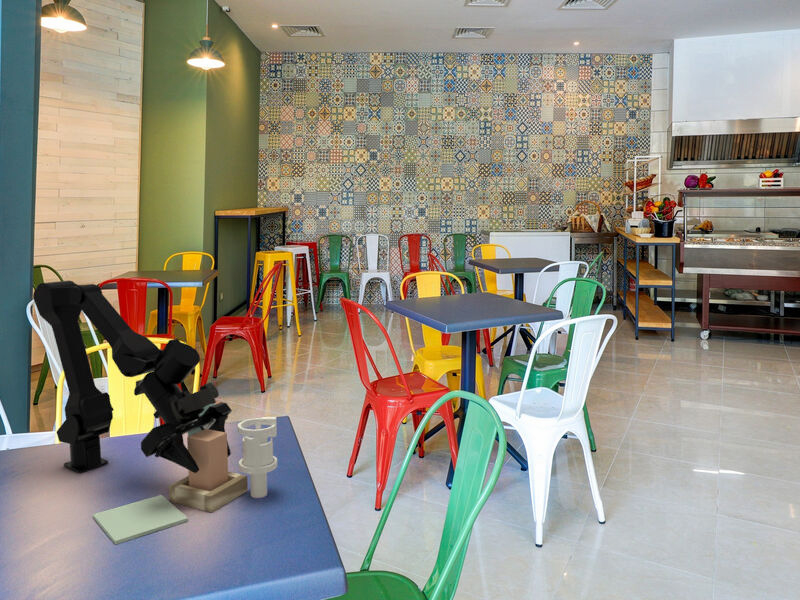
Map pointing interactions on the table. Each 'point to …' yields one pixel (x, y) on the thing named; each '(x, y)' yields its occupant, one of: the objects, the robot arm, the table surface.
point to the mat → (139, 519)
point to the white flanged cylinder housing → (258, 453)
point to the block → (208, 459)
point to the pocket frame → (208, 493)
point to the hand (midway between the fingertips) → (213, 463)
